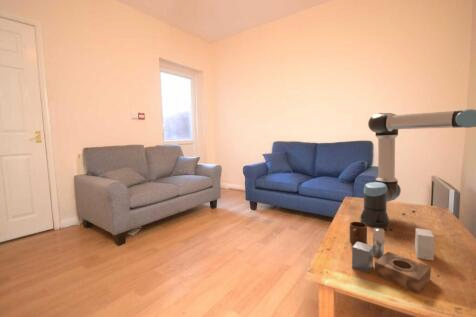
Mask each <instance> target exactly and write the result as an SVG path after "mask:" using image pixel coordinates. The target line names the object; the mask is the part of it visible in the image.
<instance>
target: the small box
mask: <svg viewBox="0 0 476 317" xmlns="http://www.w3.org/2000/svg"><path fill="white" fill-rule="evenodd" d="M414 251H415V252H414V253H415V255H416V258H418V259H420V260H426V261H434V260H435V259H434V258H435V236H434V233H433V232H432V230H431V229H425V228H419V227H416V228H415V236H414Z"/></svg>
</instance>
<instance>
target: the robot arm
mask: <svg viewBox="0 0 476 317" xmlns="http://www.w3.org/2000/svg"><path fill="white" fill-rule="evenodd" d="M367 126H368V129H369V130H370V131H371V132H373V133H375V137H376V138H377V139H378V142H377V145H378V146H377V147H378V148H377V149H378V153H377V154H378V155H377V157H378V158H377V160H378V164H377V165H378V166H377V167H378V170H377V172H378V174H377V177H376V178H375V181H373V182H372V181H371V182H367V183H366V184H364V188H363V209H362V212H361V214H360V217H359V220H360V221H359V222H361V223H364V224H366V225H367V226H369V227H373V228H386V227H389V226H390V222H391V220H390V218H389V215H388V211H387V204H388V203H389V202H392V201H394V200H396V199H397V198H398V197H400V195H401V186H400V185H399V184H398V182H399V180H398V179H397V178H396V177H395V176H396V171H395V169H396V164H395V163H396V162H395V161H396V138H397V137H398V136H399V130H411V129H412V130H417V129H419V130H421V129H452V128H453V129H454V128H460V129H461V128H465V129H466V128H468V129H469V128H476V109H464V110H449V111H434V112H422V113H421V112H420V113H406V114H405V113H404V114H395V113H392V112H390V113H389V112H385V113H384V112H379V113H375V114H373V115H372V116H371V117H370V118H369V120H368V123H367Z"/></svg>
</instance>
